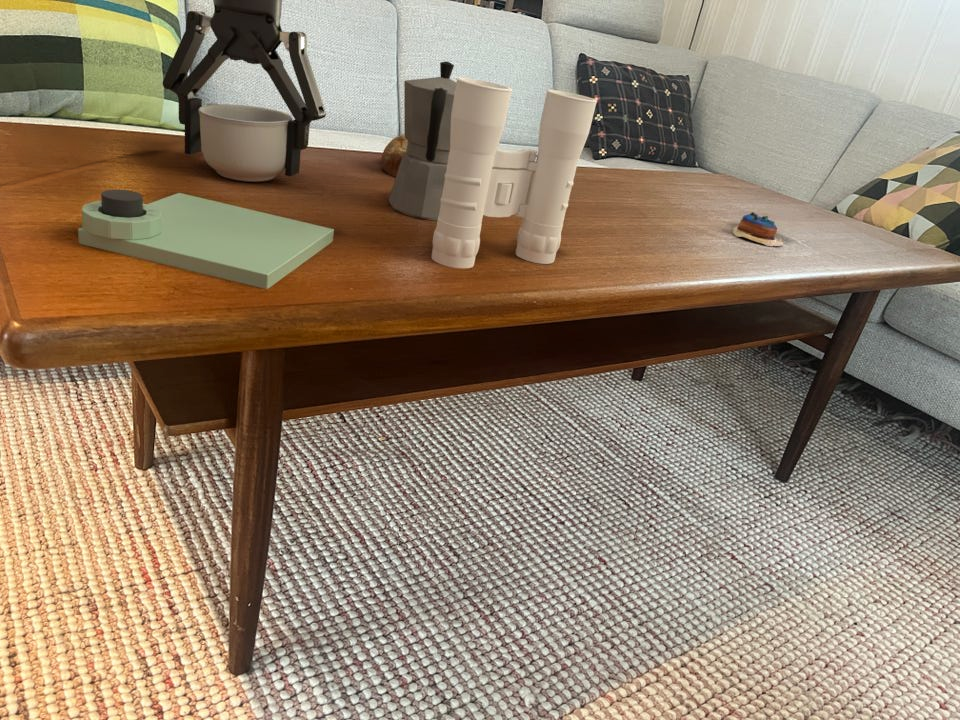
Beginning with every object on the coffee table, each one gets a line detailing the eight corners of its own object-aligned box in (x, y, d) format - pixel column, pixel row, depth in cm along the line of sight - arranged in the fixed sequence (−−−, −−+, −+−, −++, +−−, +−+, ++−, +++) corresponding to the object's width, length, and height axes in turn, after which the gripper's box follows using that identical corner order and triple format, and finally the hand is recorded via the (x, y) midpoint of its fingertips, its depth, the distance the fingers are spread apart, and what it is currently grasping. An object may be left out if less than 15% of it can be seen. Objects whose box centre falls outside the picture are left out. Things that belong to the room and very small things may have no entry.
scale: (67, 244, 62) (65, 210, 60) (173, 204, 77) (174, 176, 75) (264, 292, 60) (266, 258, 59) (332, 242, 75) (335, 214, 74)
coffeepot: (393, 191, 99) (413, 50, 92) (461, 204, 100) (486, 65, 92) (378, 221, 85) (400, 58, 78) (457, 235, 86) (486, 75, 78)
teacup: (304, 187, 91) (308, 121, 88) (218, 186, 84) (219, 114, 81) (256, 163, 100) (258, 102, 97) (175, 160, 93) (175, 95, 90)
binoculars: (537, 248, 88) (572, 92, 80) (567, 264, 84) (607, 102, 77) (417, 253, 77) (445, 75, 70) (446, 271, 74) (479, 85, 66)
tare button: (93, 214, 62) (92, 194, 61) (116, 206, 65) (116, 187, 64) (128, 222, 62) (128, 202, 61) (150, 214, 64) (150, 195, 64)
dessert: (724, 228, 115) (745, 198, 115) (728, 247, 121) (749, 218, 121) (770, 248, 111) (792, 217, 111) (772, 267, 117) (793, 237, 117)
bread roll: (417, 189, 118) (407, 139, 117) (467, 178, 112) (457, 125, 110) (375, 194, 110) (364, 140, 109) (426, 182, 104) (415, 125, 103)
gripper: (362, -4, 85) (345, 178, 94) (165, -42, 87) (167, 139, 96) (341, -7, 78) (324, 189, 88) (127, -49, 80) (133, 147, 90)
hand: (242, 163), depth 92 cm, fingers closed on teacup, 12 cm apart
